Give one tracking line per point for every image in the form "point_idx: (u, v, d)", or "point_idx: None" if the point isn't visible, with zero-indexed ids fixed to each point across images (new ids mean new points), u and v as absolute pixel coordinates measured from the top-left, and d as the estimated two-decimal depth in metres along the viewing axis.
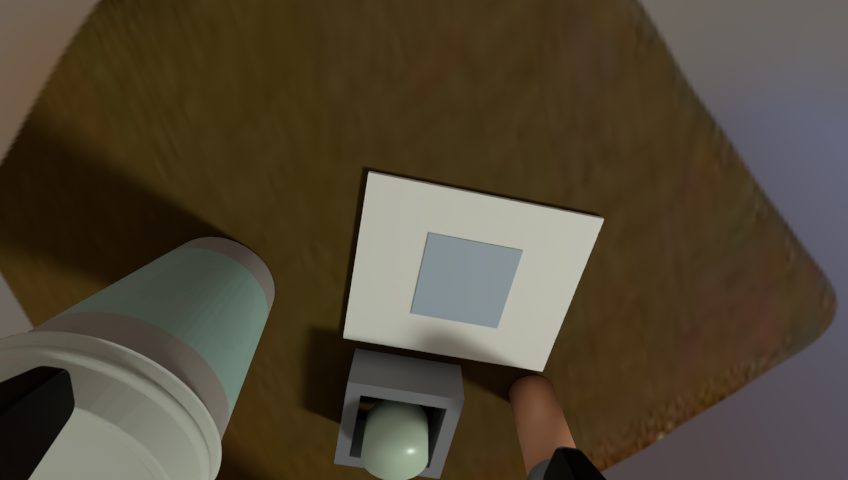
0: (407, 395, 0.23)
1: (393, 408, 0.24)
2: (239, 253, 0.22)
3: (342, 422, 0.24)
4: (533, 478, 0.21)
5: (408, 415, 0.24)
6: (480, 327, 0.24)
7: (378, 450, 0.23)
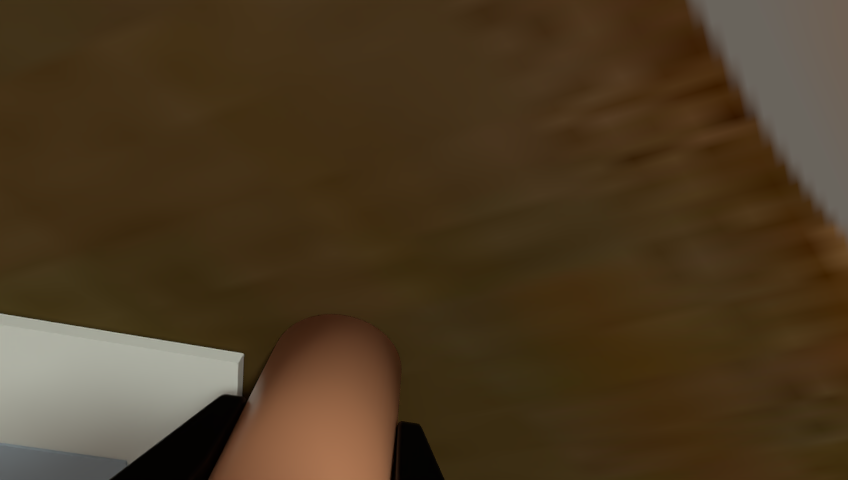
0: None
1: None
2: None
3: None
4: None
5: None
6: None
7: None
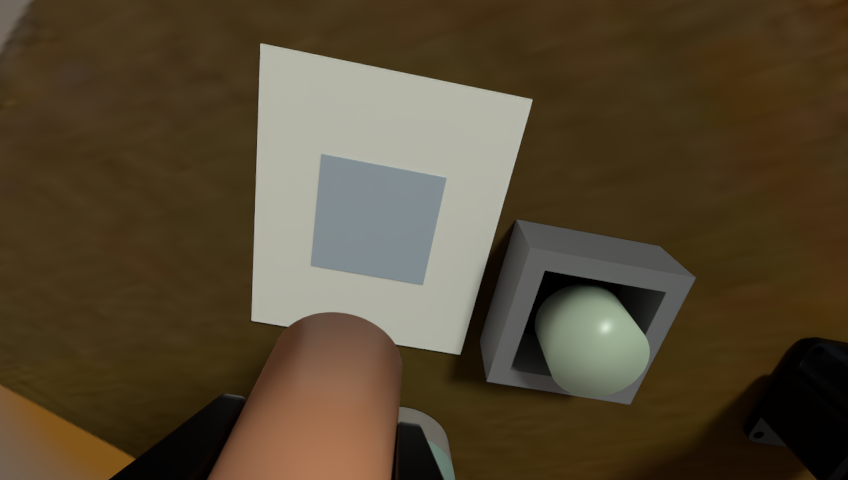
0: (514, 319, 0.17)
1: (538, 333, 0.17)
2: None
3: (555, 390, 0.18)
4: None
5: (546, 321, 0.17)
6: (445, 200, 0.18)
7: (580, 377, 0.16)
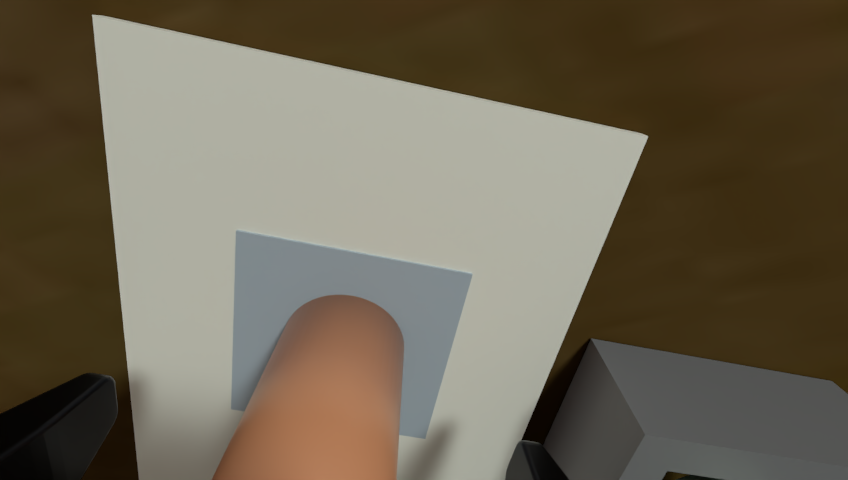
0: None
1: None
2: None
3: None
4: None
5: None
6: (468, 311, 0.10)
7: None
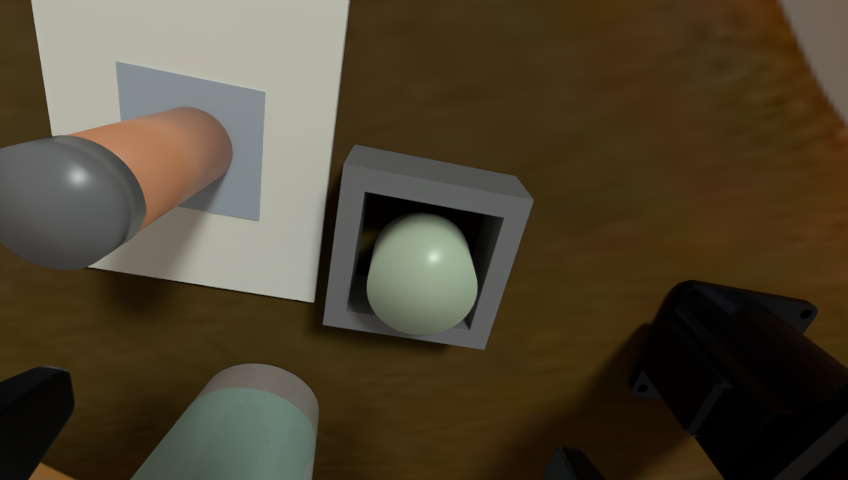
0: (340, 250, 0.15)
1: None
2: None
3: (400, 334, 0.17)
4: None
5: (374, 251, 0.15)
6: (268, 119, 0.16)
7: (405, 311, 0.14)
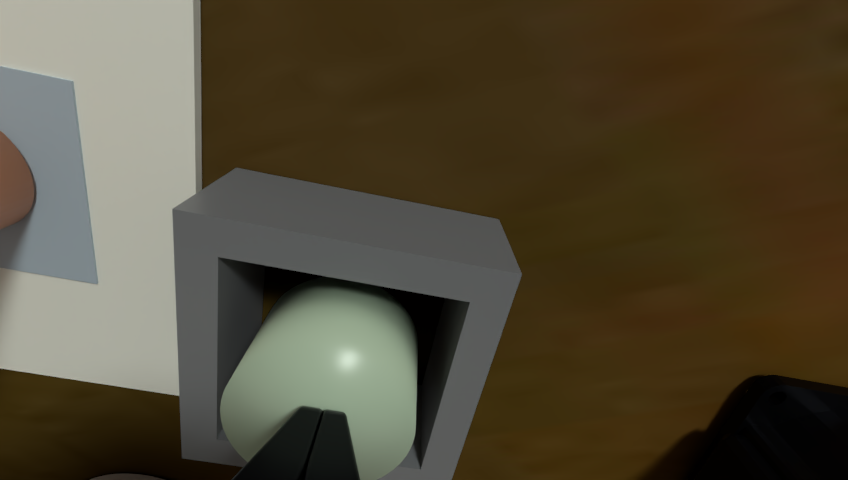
0: (191, 351, 0.09)
1: None
2: None
3: None
4: None
5: (251, 344, 0.09)
6: (85, 127, 0.09)
7: None
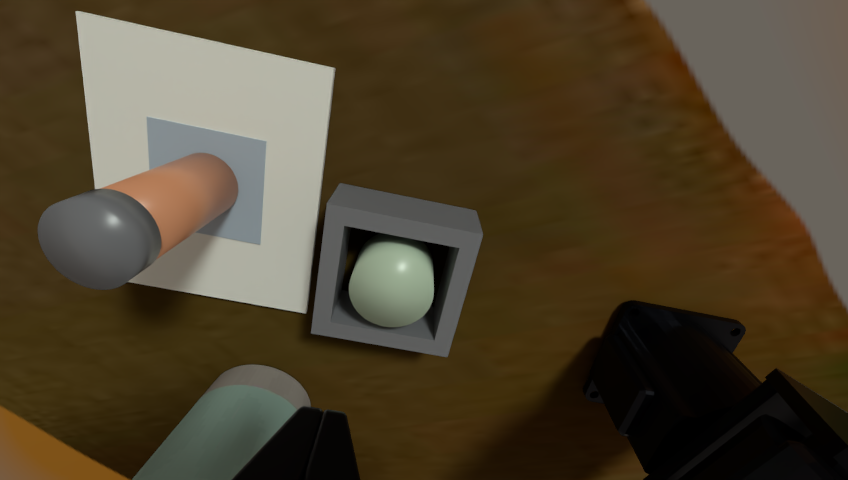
0: (324, 272, 0.18)
1: None
2: None
3: (376, 343, 0.20)
4: None
5: (356, 261, 0.19)
6: (268, 163, 0.19)
7: (378, 308, 0.18)
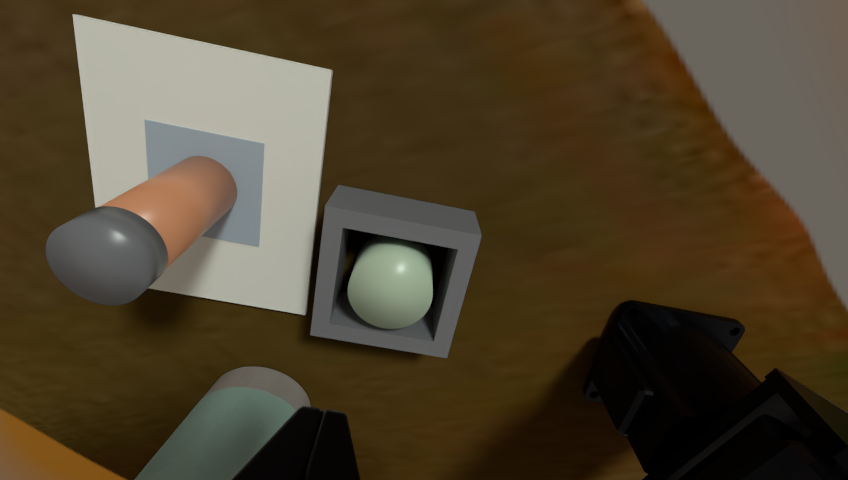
0: (323, 274, 0.18)
1: None
2: None
3: (375, 344, 0.20)
4: None
5: (355, 263, 0.19)
6: (266, 165, 0.19)
7: (378, 310, 0.18)
